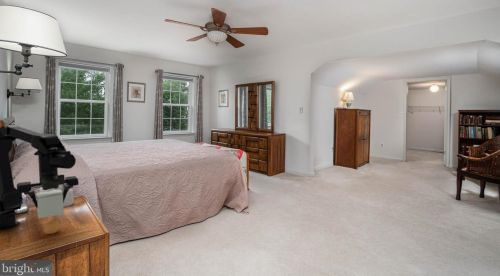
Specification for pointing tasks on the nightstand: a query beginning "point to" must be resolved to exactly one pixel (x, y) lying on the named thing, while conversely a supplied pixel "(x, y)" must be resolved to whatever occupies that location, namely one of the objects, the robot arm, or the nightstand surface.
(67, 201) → the eye dropper bottle
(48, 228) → the ball
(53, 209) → the white block
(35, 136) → the robot arm
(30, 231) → the nightstand surface
